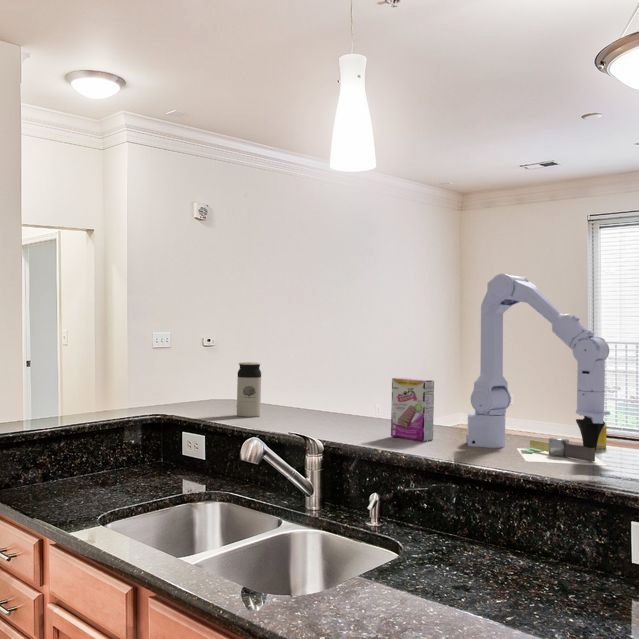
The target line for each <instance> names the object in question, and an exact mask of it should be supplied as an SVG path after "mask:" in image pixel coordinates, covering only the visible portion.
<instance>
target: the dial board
mask: <svg viewBox="0 0 639 639" xmlns="http://www.w3.org/2000/svg"><path fill="white" fill-rule="evenodd" d="M515 449H516V451H518V453H519V454H520V456H521V457H522V459H523V460H524V461H525V462H526V463H528V462H529V463H549V464H564V465H565V464H567V465H582V466H583V465H587V466H589V465H590V466H604V467H605V466H606V467H607V466H609V465H608V464H607V463H606V462H604V461H602V460H601V459H599V458H598V457H597V456H596V455H595V461H594V462H589V461H584V460H579V459H574V458H569V457H565V456H553V455H549V452H548V451H543V450H539V449H534V448H520V447H518V448H515Z"/></svg>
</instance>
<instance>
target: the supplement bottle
mask: <svg viewBox="0 0 639 639" xmlns="http://www.w3.org/2000/svg"><path fill="white" fill-rule="evenodd" d="M604 419H605V415H604V416H603V420H604ZM605 449H607V423H606V422H605V425H604V427H603V428H602V430H601V432H600V435H599V438H598V442H597V448H596V450H605Z"/></svg>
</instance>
